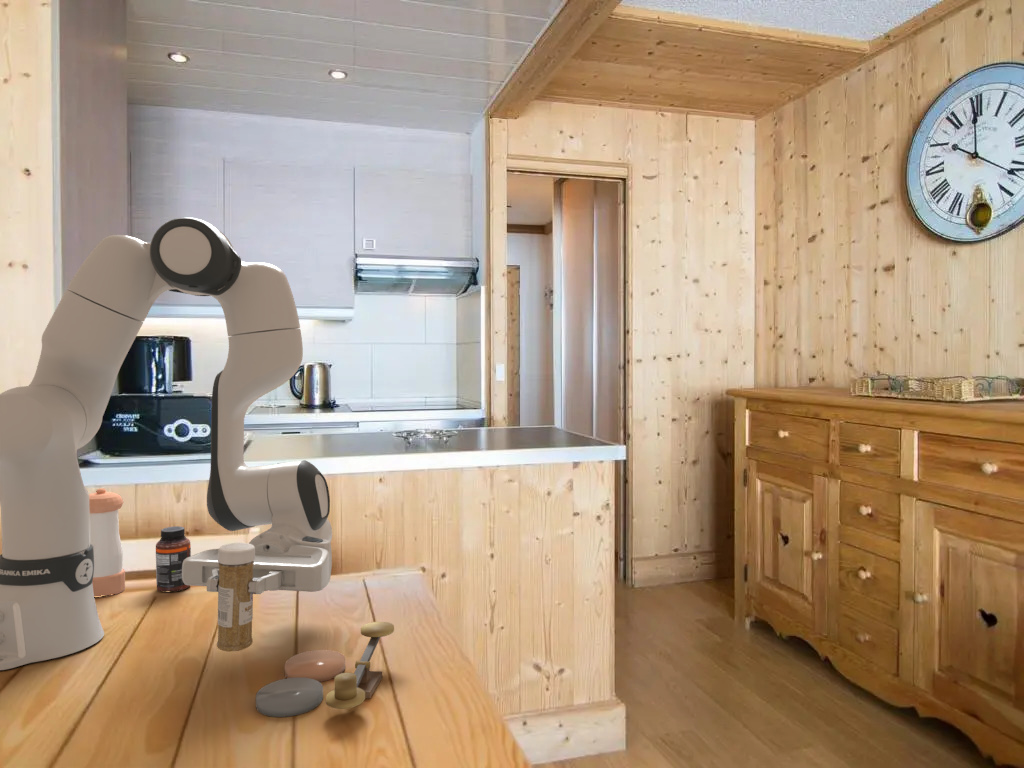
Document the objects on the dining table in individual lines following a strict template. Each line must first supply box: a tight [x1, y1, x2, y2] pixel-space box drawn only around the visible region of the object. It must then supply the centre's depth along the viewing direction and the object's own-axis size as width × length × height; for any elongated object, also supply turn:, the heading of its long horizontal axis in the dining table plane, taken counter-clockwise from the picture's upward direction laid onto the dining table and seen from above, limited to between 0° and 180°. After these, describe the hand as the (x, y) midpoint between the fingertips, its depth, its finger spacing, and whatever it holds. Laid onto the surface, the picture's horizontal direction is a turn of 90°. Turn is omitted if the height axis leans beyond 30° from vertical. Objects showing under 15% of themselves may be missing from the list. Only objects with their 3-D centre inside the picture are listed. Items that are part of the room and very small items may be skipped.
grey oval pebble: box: [255, 677, 324, 718], centre depth 89 cm, size 8×8×1 cm
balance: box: [325, 621, 395, 710], centre depth 93 cm, size 5×19×5 cm, turn 176°
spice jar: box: [216, 542, 255, 652], centre depth 95 cm, size 5×5×14 cm
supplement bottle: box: [155, 526, 192, 592], centre depth 133 cm, size 6×6×11 cm
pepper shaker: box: [88, 487, 126, 596], centre depth 131 cm, size 7×7×19 cm
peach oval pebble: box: [284, 649, 346, 683], centre depth 98 cm, size 8×8×1 cm
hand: (232, 587), depth 94 cm, fingers closed on spice jar, 4 cm apart
